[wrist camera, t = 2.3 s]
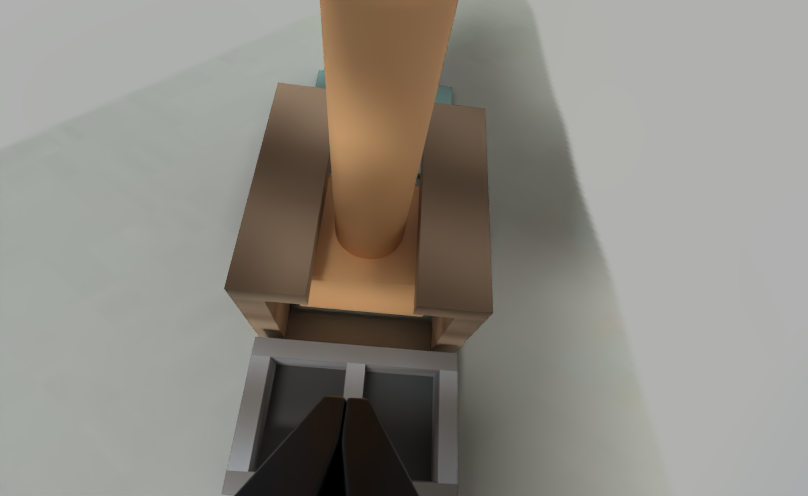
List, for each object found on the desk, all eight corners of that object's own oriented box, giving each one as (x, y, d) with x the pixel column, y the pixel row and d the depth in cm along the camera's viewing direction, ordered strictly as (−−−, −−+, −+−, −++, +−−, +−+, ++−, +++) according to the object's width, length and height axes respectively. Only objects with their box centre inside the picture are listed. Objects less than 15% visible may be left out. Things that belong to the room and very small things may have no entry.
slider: (422, 316, 21) (545, 67, 8) (300, 305, 21) (209, 22, 7) (425, 229, 24) (525, -81, 10) (315, 217, 23) (267, -123, 10)
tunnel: (454, 503, 19) (501, 522, 13) (226, 490, 18) (167, 504, 12) (455, 91, 30) (480, 1, 24) (314, 73, 29) (305, -25, 23)
